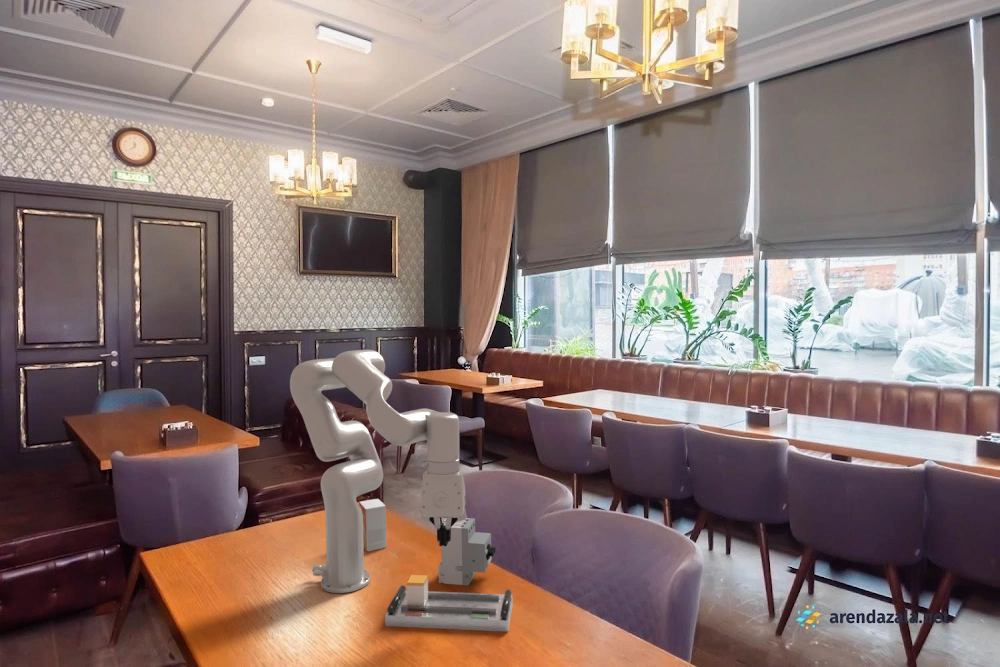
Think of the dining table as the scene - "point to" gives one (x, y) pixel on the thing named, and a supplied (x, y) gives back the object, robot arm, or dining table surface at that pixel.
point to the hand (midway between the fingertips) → (444, 543)
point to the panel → (452, 611)
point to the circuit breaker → (464, 553)
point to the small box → (373, 524)
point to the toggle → (417, 590)
